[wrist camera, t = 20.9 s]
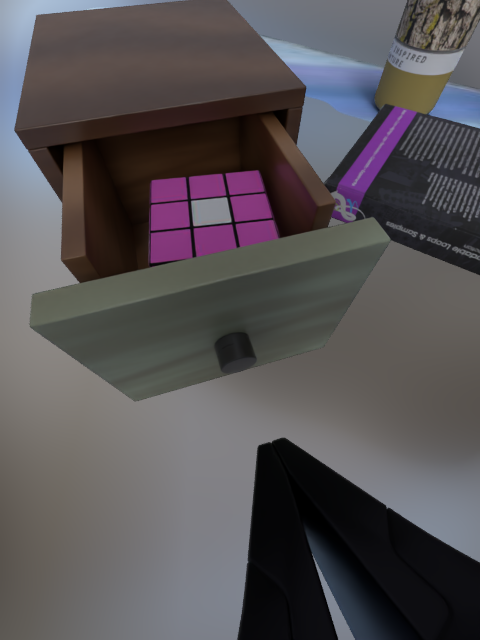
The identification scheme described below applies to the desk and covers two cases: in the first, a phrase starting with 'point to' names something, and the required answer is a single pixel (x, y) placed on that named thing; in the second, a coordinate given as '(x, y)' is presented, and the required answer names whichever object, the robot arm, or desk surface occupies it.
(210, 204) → the puzzle toy
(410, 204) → the box
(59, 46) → the cabinet
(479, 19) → the paper tube
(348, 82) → the desk surface
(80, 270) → the drawer
